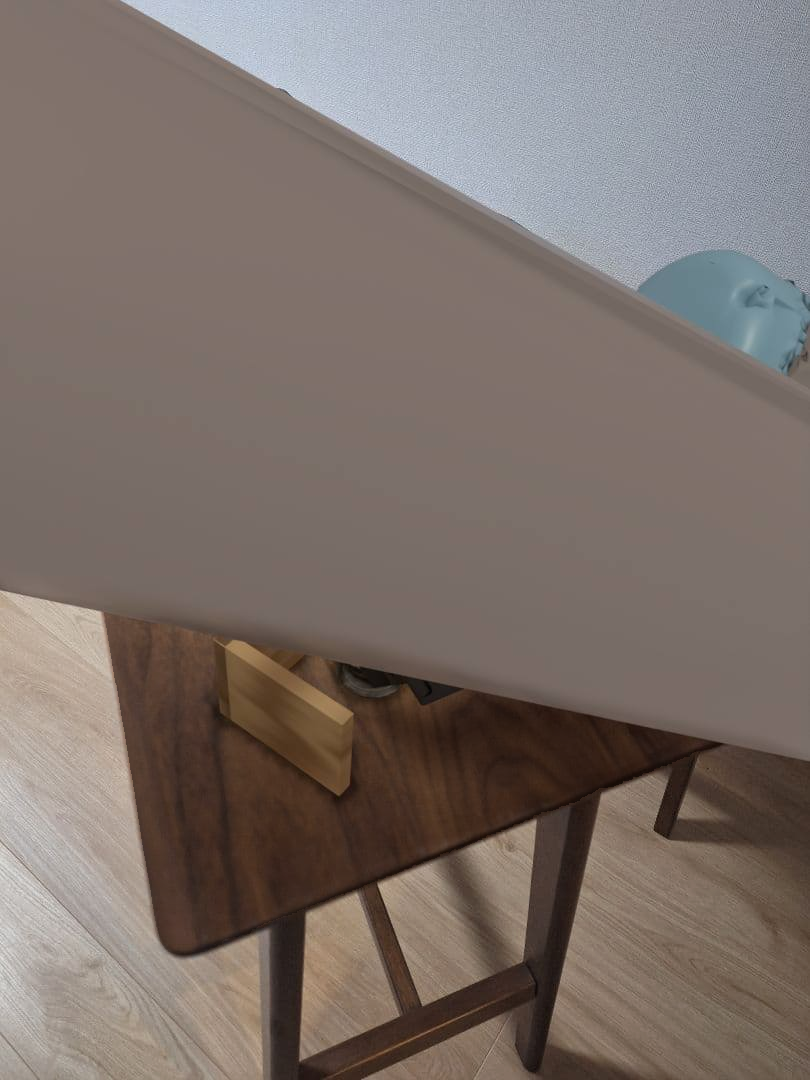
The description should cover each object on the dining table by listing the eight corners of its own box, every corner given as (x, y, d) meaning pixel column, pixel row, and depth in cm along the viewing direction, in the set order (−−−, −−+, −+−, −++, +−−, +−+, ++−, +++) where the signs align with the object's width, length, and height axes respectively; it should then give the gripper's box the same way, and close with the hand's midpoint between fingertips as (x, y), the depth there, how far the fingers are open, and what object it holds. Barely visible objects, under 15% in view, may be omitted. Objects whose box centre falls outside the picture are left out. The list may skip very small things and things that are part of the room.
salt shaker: (417, 696, 69) (432, 583, 61) (340, 705, 68) (345, 592, 60) (401, 638, 73) (413, 526, 65) (328, 646, 72) (331, 533, 64)
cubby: (496, 627, 75) (510, 555, 70) (339, 796, 62) (342, 725, 57) (387, 566, 79) (393, 494, 74) (219, 712, 67) (212, 639, 61)
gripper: (619, 761, 39) (340, 773, 55) (801, 489, 55) (543, 559, 71) (533, 619, 38) (273, 673, 54) (746, 381, 54) (495, 478, 70)
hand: (426, 608), depth 63 cm, fingers open, 13 cm apart
